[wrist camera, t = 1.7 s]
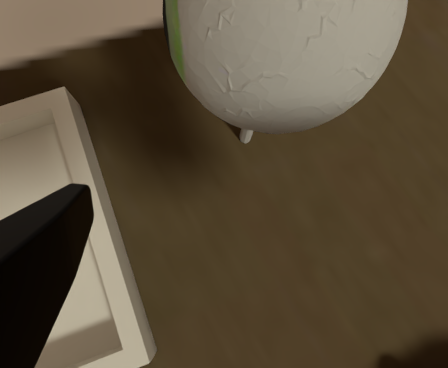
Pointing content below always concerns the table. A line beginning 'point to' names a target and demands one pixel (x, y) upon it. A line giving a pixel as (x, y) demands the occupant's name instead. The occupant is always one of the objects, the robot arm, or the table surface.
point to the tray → (96, 244)
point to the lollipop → (281, 57)
